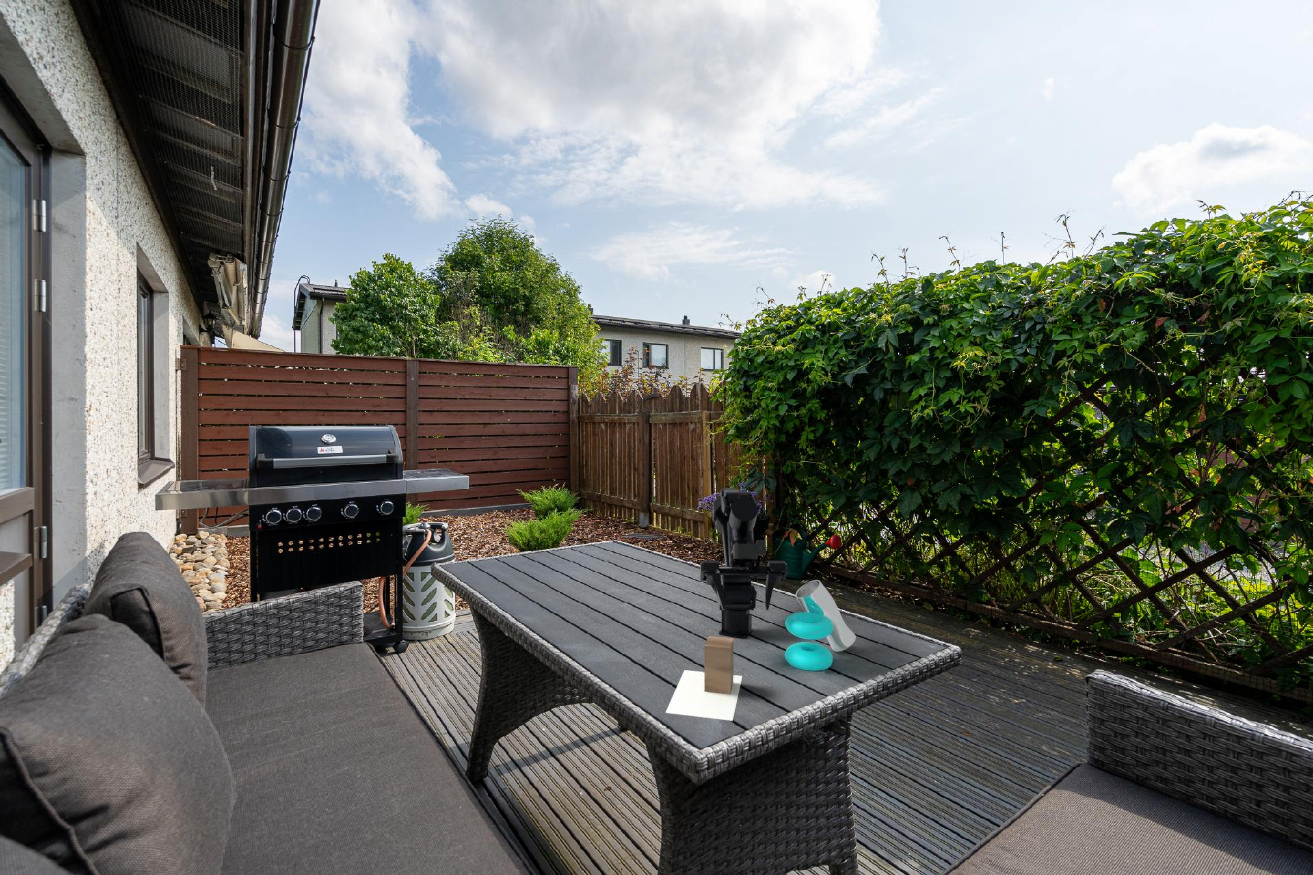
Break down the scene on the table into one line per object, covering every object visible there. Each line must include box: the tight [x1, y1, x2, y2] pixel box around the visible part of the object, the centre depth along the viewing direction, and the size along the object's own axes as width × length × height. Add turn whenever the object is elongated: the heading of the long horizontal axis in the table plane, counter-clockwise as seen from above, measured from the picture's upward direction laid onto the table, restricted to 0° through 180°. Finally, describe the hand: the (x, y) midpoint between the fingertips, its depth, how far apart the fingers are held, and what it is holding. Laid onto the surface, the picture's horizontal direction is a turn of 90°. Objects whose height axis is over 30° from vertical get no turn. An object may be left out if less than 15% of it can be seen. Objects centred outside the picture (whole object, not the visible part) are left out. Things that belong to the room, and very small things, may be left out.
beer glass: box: [795, 579, 857, 653], centre depth 137 cm, size 7×7×15 cm
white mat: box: [665, 669, 743, 722], centre depth 116 cm, size 18×12×1 cm, turn 166°
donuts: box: [784, 611, 834, 672], centre depth 130 cm, size 10×10×10 cm
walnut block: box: [703, 635, 734, 694], centre depth 118 cm, size 5×5×9 cm
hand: (745, 609), depth 128 cm, fingers open, 9 cm apart
